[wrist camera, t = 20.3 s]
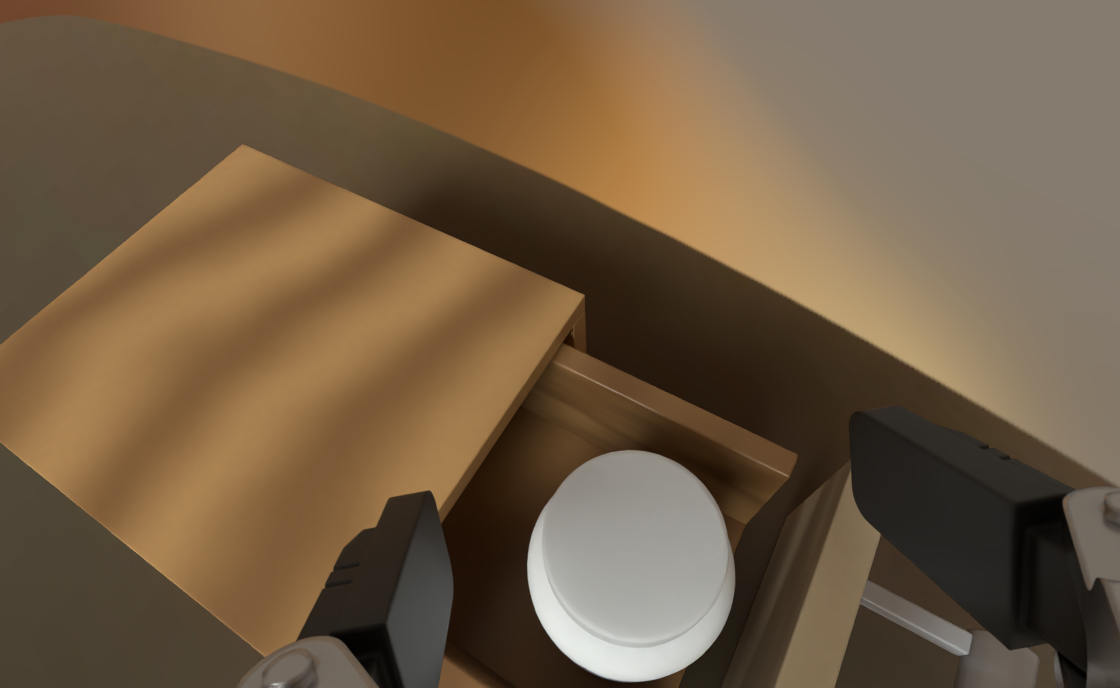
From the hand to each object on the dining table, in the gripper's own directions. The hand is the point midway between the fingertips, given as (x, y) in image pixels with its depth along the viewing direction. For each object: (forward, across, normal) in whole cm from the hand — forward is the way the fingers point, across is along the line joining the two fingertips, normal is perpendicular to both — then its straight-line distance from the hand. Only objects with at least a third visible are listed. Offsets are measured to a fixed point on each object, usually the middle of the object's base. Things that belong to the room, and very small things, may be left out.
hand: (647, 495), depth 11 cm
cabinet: (+14, +10, +3) cm, 18 cm away
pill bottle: (+7, 0, +8) cm, 11 cm away
